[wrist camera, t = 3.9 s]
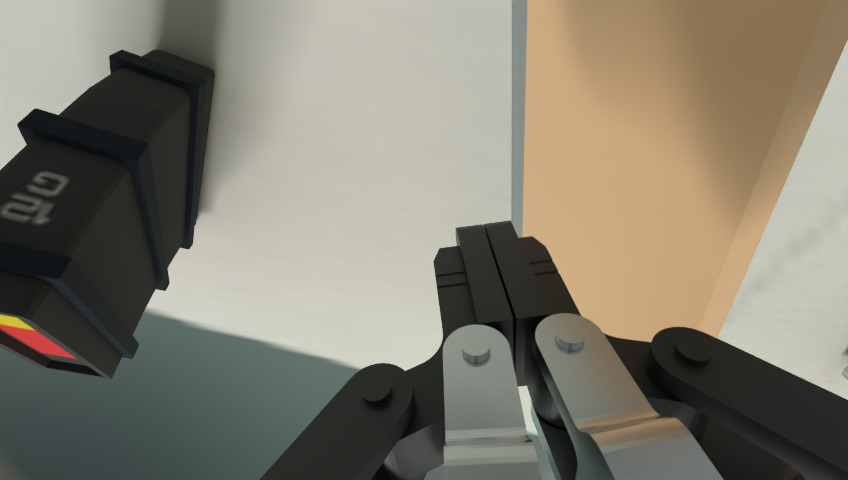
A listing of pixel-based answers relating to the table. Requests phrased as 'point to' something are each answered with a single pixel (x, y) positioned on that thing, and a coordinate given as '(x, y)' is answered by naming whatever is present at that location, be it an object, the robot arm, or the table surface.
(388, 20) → the table surface
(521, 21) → the grey rectangular box
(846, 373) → the electrical outlet
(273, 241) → the table surface
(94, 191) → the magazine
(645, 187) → the tan flat rectangular panel
